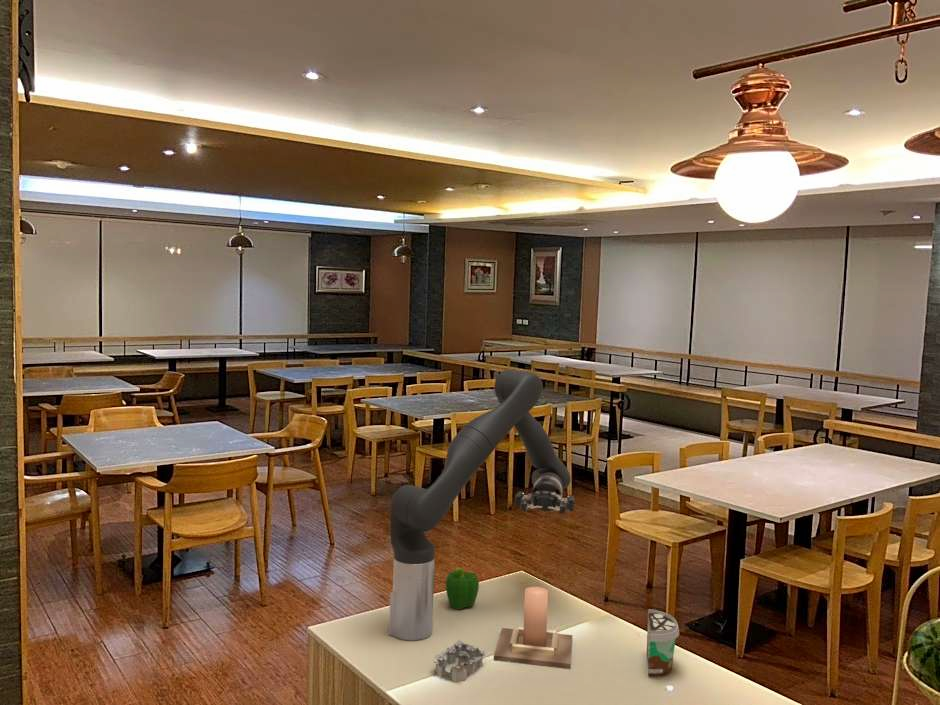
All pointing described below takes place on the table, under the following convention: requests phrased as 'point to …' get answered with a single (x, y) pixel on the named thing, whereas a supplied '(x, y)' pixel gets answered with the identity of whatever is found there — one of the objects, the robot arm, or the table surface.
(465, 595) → the bell pepper
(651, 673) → the food container
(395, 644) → the table surface
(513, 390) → the robot arm
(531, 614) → the terracotta pin
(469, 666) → the egg carton
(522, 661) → the board
